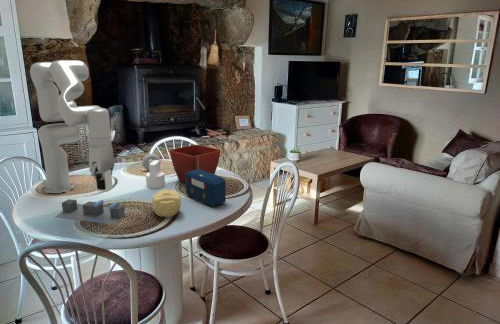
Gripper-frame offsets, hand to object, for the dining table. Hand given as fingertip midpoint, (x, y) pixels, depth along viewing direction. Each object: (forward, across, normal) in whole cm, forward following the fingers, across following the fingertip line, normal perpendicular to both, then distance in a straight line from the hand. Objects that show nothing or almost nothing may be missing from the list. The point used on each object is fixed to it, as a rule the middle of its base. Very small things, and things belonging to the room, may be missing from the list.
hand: (104, 186), depth 143 cm
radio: (+14, -29, +31) cm, 45 cm away
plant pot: (+14, -53, +18) cm, 58 cm away
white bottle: (+1, 0, 0) cm, 1 cm away
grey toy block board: (+13, 0, -6) cm, 15 cm away
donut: (+13, -63, -12) cm, 66 cm away
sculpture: (+14, -10, +21) cm, 27 cm away
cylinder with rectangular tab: (+13, -41, +1) cm, 43 cm away
